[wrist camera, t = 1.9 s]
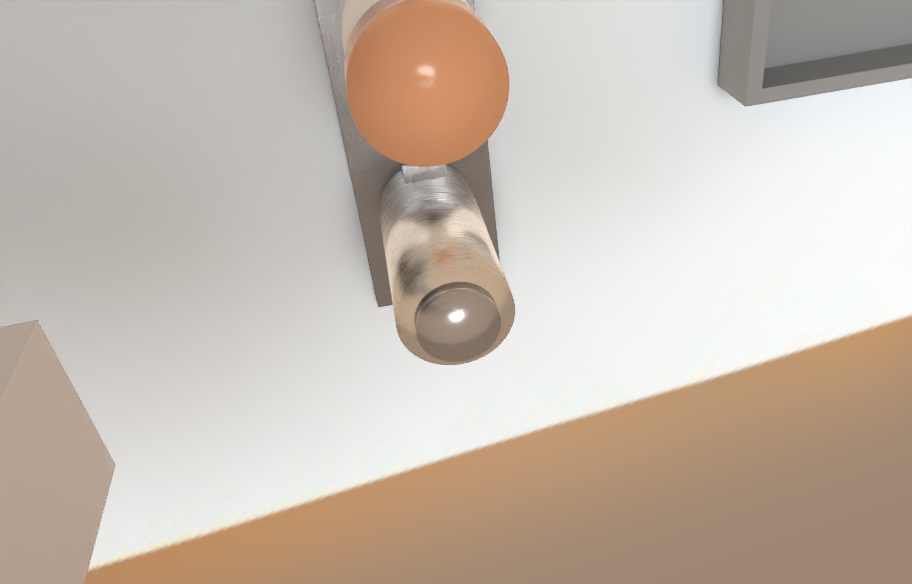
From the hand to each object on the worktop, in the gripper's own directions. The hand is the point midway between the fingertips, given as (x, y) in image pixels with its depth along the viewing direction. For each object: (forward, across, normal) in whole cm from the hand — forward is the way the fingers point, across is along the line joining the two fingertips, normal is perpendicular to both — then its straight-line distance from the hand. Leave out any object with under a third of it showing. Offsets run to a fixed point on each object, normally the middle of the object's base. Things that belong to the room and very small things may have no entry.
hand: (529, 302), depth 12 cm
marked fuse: (+20, 0, 0) cm, 20 cm away
